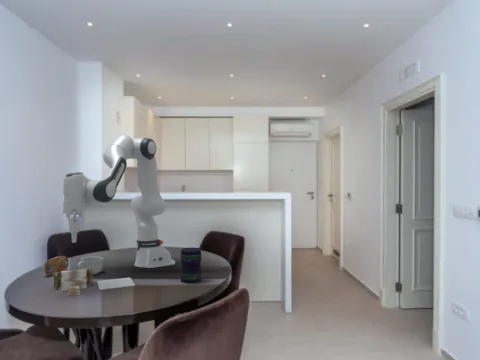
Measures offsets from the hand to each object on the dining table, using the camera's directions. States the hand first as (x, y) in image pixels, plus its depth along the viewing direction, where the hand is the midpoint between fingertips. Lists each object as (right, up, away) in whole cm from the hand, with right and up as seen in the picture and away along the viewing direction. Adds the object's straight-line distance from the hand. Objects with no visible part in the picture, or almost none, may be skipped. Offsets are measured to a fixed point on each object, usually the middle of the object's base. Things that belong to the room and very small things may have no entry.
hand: (73, 240), depth 160 cm
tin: (-21, -21, +26) cm, 40 cm away
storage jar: (+50, -21, +13) cm, 56 cm away
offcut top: (+4, -19, -8) cm, 21 cm away
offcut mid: (+4, -20, -8) cm, 22 cm away
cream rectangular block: (0, -21, 0) cm, 21 cm away
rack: (-2, -21, +5) cm, 22 cm away
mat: (+16, -21, +8) cm, 27 cm away
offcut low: (+4, -22, -8) cm, 23 cm away
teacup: (-3, -21, +24) cm, 33 cm away
